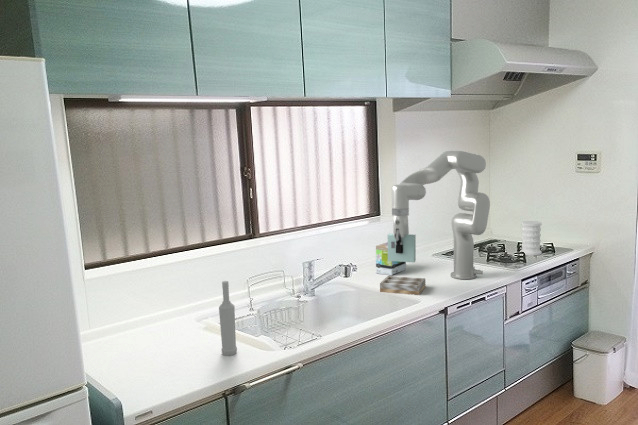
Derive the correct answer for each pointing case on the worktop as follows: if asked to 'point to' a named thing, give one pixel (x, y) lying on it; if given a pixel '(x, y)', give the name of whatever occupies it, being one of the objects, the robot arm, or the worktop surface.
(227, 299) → the bottle
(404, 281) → the track base
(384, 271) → the tea box
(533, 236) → the decorative container
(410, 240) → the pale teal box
